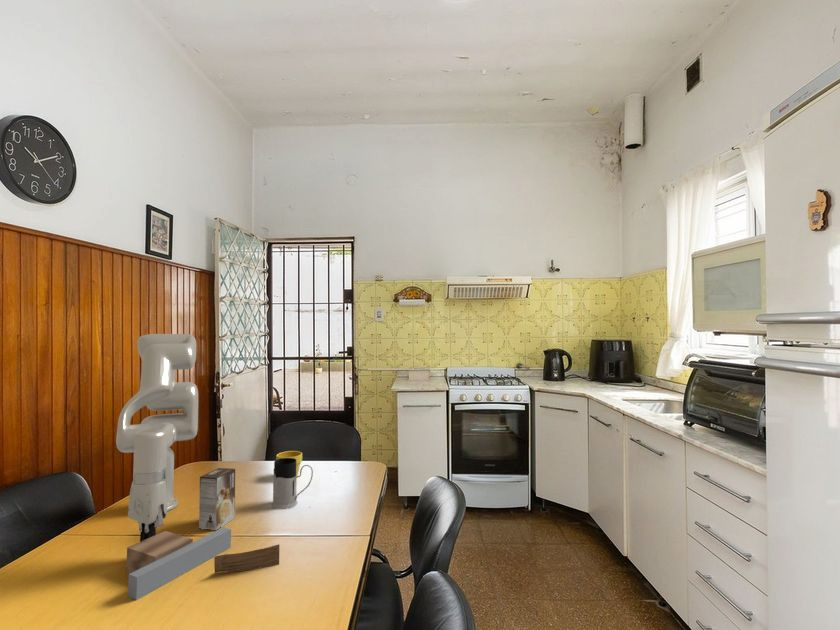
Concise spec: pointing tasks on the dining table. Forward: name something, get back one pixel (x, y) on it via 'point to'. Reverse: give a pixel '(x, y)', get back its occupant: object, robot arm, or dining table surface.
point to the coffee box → (217, 498)
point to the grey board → (177, 563)
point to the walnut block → (154, 549)
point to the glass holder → (286, 483)
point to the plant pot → (291, 454)
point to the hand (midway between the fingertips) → (147, 544)
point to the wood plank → (247, 560)
